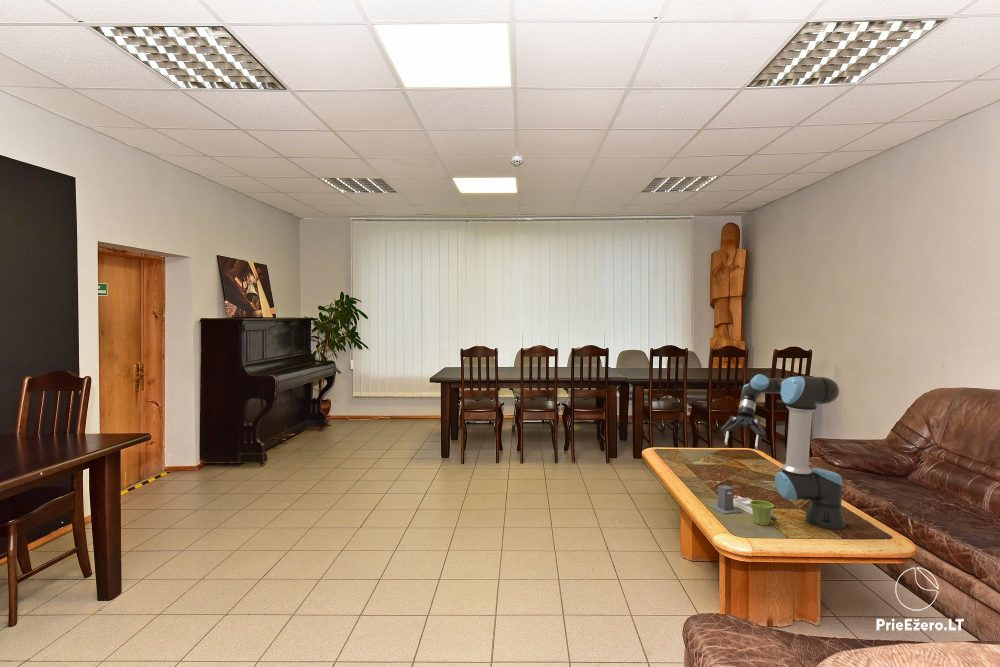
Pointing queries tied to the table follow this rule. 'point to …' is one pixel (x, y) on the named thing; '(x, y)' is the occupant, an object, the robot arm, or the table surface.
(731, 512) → the pad
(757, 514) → the plant pot
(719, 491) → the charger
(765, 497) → the table surface
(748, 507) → the white slab
